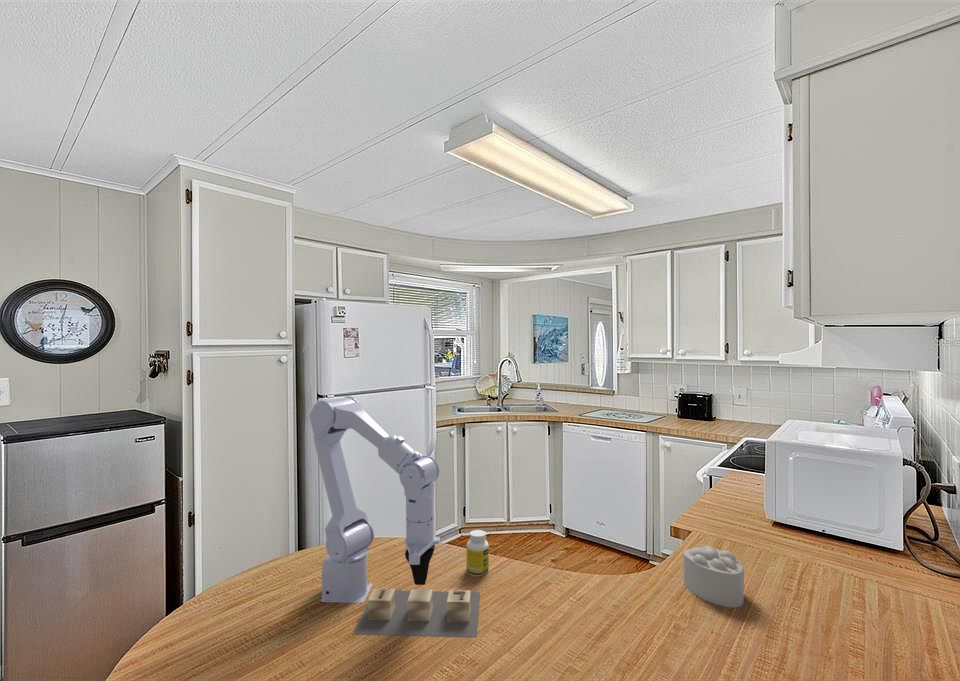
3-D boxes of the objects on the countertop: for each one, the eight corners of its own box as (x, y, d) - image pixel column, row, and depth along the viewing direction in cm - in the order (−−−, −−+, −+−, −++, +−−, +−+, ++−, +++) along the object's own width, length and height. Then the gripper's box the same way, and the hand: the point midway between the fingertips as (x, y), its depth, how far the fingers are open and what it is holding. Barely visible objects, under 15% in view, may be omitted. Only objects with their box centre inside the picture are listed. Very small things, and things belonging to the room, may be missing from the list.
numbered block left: (368, 619, 98) (368, 599, 98) (374, 607, 102) (373, 587, 102) (390, 620, 97) (390, 599, 97) (395, 607, 102) (395, 588, 102)
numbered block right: (447, 621, 97) (446, 601, 97) (449, 608, 102) (449, 589, 101) (469, 622, 97) (469, 601, 97) (470, 609, 101) (470, 589, 101)
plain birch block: (407, 620, 97) (407, 601, 97) (411, 608, 102) (411, 589, 102) (429, 621, 97) (429, 601, 97) (432, 608, 102) (432, 589, 102)
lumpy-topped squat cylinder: (713, 575, 117) (714, 539, 117) (757, 604, 104) (757, 564, 104) (676, 580, 114) (676, 544, 114) (716, 611, 102) (716, 570, 102)
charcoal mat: (352, 637, 93) (352, 634, 93) (374, 592, 109) (374, 590, 109) (477, 640, 92) (477, 637, 92) (480, 594, 108) (480, 592, 108)
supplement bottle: (486, 579, 115) (486, 538, 115) (464, 577, 116) (464, 536, 116) (490, 568, 120) (490, 529, 120) (469, 566, 121) (469, 527, 121)
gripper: (434, 532, 92) (435, 603, 92) (443, 505, 106) (443, 566, 106) (397, 531, 92) (398, 602, 92) (411, 504, 107) (412, 566, 107)
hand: (420, 583), depth 99 cm, fingers closed
